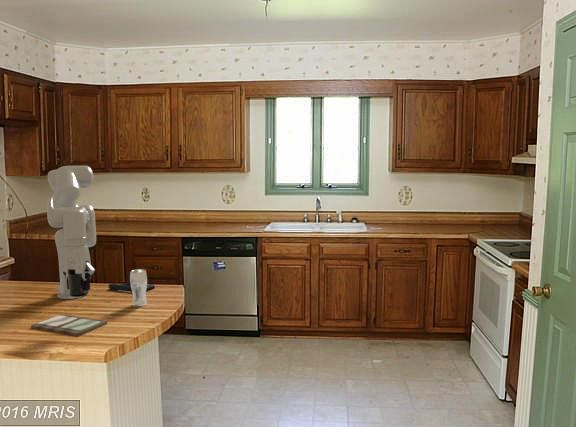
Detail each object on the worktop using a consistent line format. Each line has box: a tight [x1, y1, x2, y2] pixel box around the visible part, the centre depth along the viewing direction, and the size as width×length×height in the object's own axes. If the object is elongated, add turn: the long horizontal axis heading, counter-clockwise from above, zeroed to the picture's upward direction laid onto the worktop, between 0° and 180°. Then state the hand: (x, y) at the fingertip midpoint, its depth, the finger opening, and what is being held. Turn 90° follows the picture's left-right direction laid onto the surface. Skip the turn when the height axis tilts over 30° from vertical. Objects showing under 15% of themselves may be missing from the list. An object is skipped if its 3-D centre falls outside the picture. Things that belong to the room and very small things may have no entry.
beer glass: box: [129, 268, 148, 308], centre depth 211 cm, size 7×7×15 cm
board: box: [30, 313, 108, 337], centre depth 186 cm, size 24×14×1 cm, turn 67°
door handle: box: [107, 282, 156, 294], centre depth 238 cm, size 3×20×16 cm
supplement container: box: [68, 269, 89, 298], centre depth 182 cm, size 7×7×10 cm
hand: (78, 288), depth 182 cm, fingers closed on supplement container, 6 cm apart
